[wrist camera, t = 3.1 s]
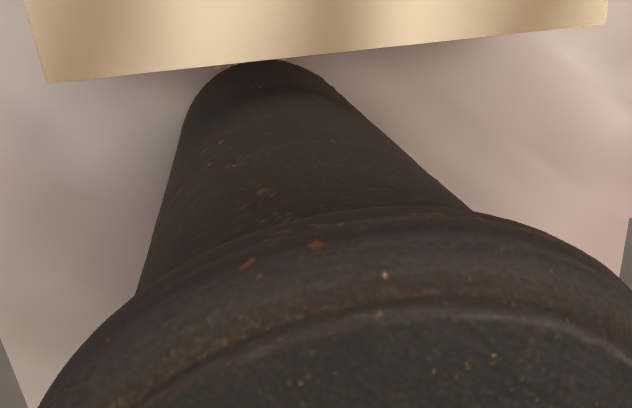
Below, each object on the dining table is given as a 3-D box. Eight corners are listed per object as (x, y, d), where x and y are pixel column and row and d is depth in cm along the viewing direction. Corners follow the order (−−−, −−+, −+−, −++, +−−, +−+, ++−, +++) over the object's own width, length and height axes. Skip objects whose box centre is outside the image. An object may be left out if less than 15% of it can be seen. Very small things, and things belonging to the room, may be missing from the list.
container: (282, 264, 26) (413, 853, 8) (135, 159, 23) (-217, 745, 5) (395, 139, 25) (874, 511, 7) (254, 9, 22) (414, 21, 3)
